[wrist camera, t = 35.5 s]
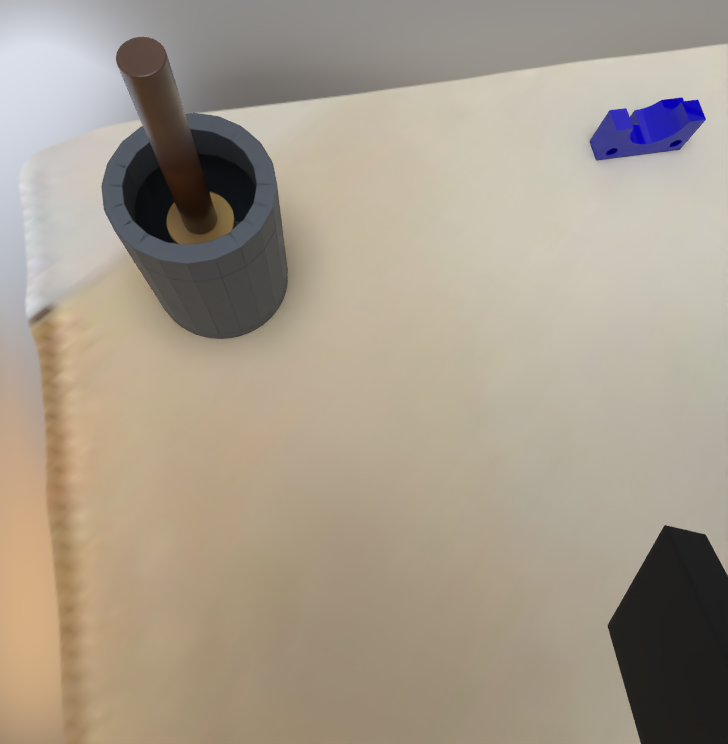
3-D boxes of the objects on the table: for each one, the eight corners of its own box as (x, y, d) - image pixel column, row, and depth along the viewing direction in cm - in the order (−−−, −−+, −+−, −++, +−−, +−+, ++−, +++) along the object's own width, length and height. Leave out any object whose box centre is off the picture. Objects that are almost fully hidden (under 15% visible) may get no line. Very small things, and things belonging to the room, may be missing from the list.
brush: (220, 237, 50) (144, 0, 29) (259, 272, 49) (212, 56, 28) (179, 273, 48) (68, 55, 27) (218, 309, 48) (137, 115, 27)
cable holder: (667, 116, 57) (692, 85, 53) (679, 149, 56) (705, 119, 52) (585, 127, 56) (604, 95, 52) (596, 160, 55) (616, 130, 51)
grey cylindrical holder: (224, 198, 52) (193, 85, 39) (313, 276, 50) (311, 184, 38) (130, 279, 49) (65, 185, 37) (221, 364, 48) (186, 296, 35)
